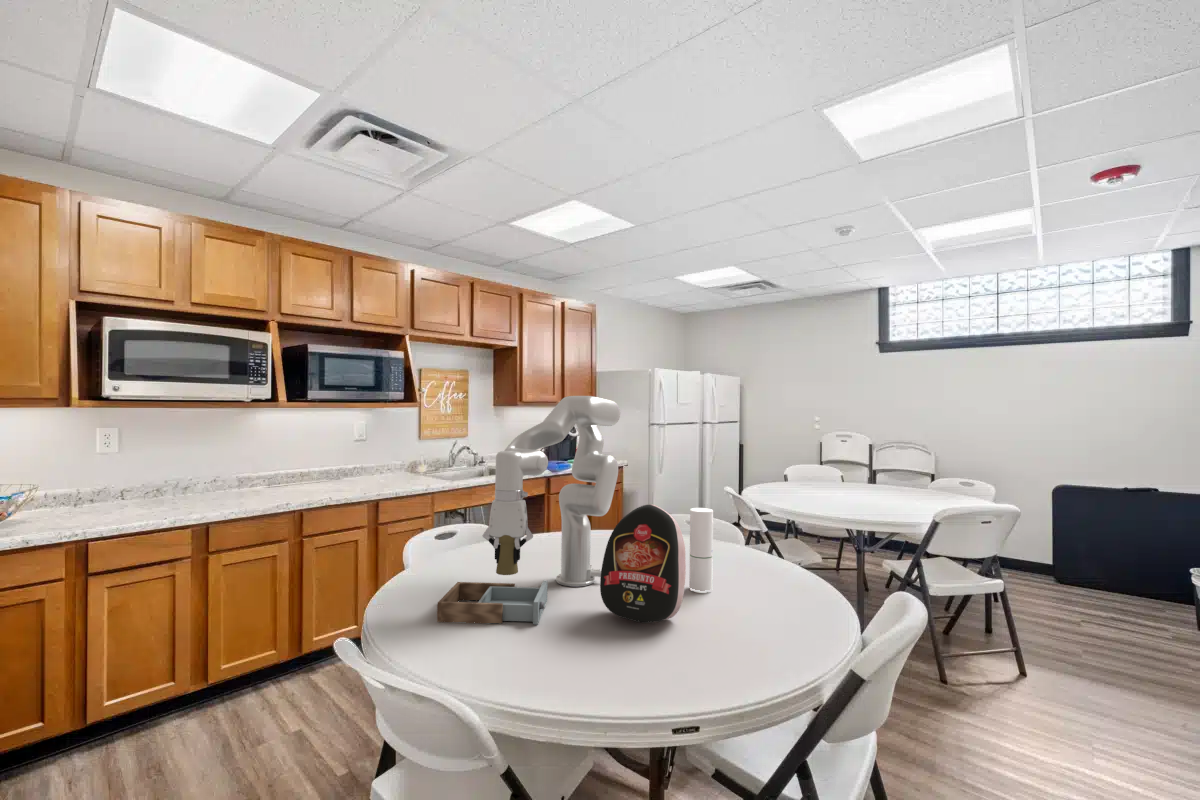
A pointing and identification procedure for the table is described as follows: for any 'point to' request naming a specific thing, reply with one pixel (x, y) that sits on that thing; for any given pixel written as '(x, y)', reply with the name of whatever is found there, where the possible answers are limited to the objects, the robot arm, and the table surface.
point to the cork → (506, 556)
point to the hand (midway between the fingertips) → (507, 561)
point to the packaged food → (644, 566)
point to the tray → (518, 601)
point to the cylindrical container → (701, 549)
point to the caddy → (470, 604)
